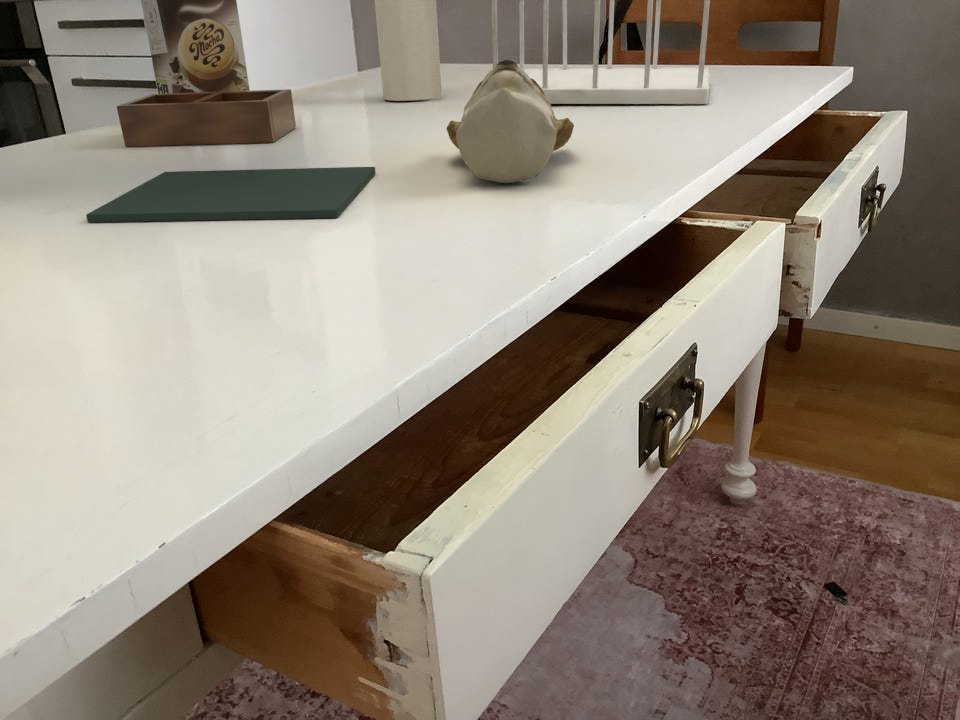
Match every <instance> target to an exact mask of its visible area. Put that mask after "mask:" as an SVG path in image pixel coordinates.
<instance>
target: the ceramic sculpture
mask: <svg viewBox="0 0 960 720" xmlns="http://www.w3.org/2000/svg"><path fill="white" fill-rule="evenodd" d="M554 113H555V112H554V110H553V108H552V104H550V103H549V101H548V100H547V99H546V96H545V93H544V91H543V89H542V88H541V87H540V86H539V85H538V84H537V82H536V81H535V80H534V79H532V78H530V77H529V76H528V74H527V73H526V72H525V71H524V70H522V69H520V66H519V65H518V64H517V63H516V62H515V61H513V60H510V59H504V60H501V61H498V64H497V66H496V67H495V68H494V69H493V68H492V69H491V70H489V72H488V73H486V75H485V76H484V77H483V79H482V80H481V81H480V82H479V83H478V85H477V86H476V88H475V89H474V91H473V92H472V95H471V97H470V98H469V100H468V101H467V102H466V104H465V106H464V108H463V114H462V116H461V121H455V120H450V121H449V123H448V125H447V126H446V132H447V134H448V137H449V140H450V142H451V143H452V144H453V145H454V147H455V148H457V149H458V150H459V153H460V156H461V158H462V160H463V162H464V163H465V165H466V166H467V168H468V169H469V170H470V172H471V173H473V175H474V176H476V177H477V178H479V179H482V180H484V181H490V182H493V183H500V184H512V183H513V184H514V183H519V182H521V181H525V180H530V179H533V178H535V177H537V176H538V175H539V174H540V173H541V172H542V171H543V170H544V169H545V167H546V166H547V164H548V162H549V160H550V158H551V157H552V154H553V152H555V151H557V150H559V149H561V148H563V147H564V146H566V144H567V143H568V142H569V140H570V139H571V138H572V134H573V132H574V131H573V130H574V127H575V125H574V123H573V121H571V119H569V118H568V117H565V118H559V119H557V118H556V116H555V114H554Z"/></svg>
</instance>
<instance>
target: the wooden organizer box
mask: <svg viewBox="0 0 960 720" xmlns="http://www.w3.org/2000/svg"><path fill="white" fill-rule="evenodd" d="M293 101H294V100H293V93H292V89H290V88H289V89H260V90H259V89H258V90H250V91H225V92H196V93H167V94H158V93H151V94H148V95H144V96H142V97H138V98H136V99H133V100H130V101H127V102H125V103H122V104H118V105H116V110H117V115H118V120H119V125H120V128H121V133H122V137H123V142H124V146H125V148H127V147H129V148H130V147H164V146H199V145H200V146H201V145H205V146H206V145H237V144H239V145H240V144H270V143H271V144H273V143H275V142H277V141H278V140H279V139H281V138H283V137H284V136H286V135H287V134H289V133H290V132H292V131H293V130H295V129H296V128H297V124H296V115H295V108H294V102H293ZM295 127H296V128H295ZM294 128H295V129H294ZM291 130H292V131H291ZM282 136H283V137H282Z"/></svg>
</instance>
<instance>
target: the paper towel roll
mask: <svg viewBox="0 0 960 720" xmlns="http://www.w3.org/2000/svg"><path fill="white" fill-rule="evenodd" d="M374 9H375V21H376V32H377V42H378V53H379V64H380V74H381V75H380V76H381V85H382V87H381V88H382V97H383V99H384V100H386V101H392V102H393V101H394V102H402V101H403V102H405V101H421V100H422V101H423V100H433V99H434V100H435V99H436V100H437V99H443V93H442V92H443V91H442V90H443V89H442V75H441V74H442V73H441V59H440V43H439V42H440V41H439V40H440V39H439V27H438V25H439V24H438V9H437V0H374Z"/></svg>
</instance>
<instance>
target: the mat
mask: <svg viewBox="0 0 960 720" xmlns="http://www.w3.org/2000/svg"><path fill="white" fill-rule="evenodd" d="M374 174H375V175H376V174H377V173H376V167H375V166H345V167H342V166H341V167H307V168H306V167H305V168H303V167H302V168H301V167H300V168H299V167H298V168H261V169H223V170H182V171H179V170H178V171H163V172H162V173H160V174H157V175H156V176H155V177H153V178H150V179H149V180H147V181H145V182H143V183H142V184H140V185H138V186H135V187H134V188H132V189H130V190H129V191H127V192H125V193H123V194H121V195H120V196H117V197H115V198H114V199H112V200H110V201H108V202H107V203H105V204H102V205H101V206H99V207H97V208H96V209H94V210H92V211H90V212H88V213H87V214H86V215H85V216H86V220H87V223H131V222H134V223H135V222H174V221H175V222H182V221H183V222H185V221H189V222H191V221H192V222H193V221H236V220H237V221H238V220H241V221H242V220H243V221H244V220H295V219H300V220H301V219H302V220H303V219H338V218H339V217H340V215H342V213H343V212H344V211H345V210H346V209H347V208H348V206H349V205H350V204H351V203H352V201H353V200H354V199H355V198H356V197H357V196H358V195H359V194H360V192H361V191H362V190H363V189H364V188H365V186H366V185H367V184H368V183H369V182H370V181H371V179H372V178H373V177H374V176H375V175H374ZM369 180H370V181H369Z"/></svg>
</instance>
